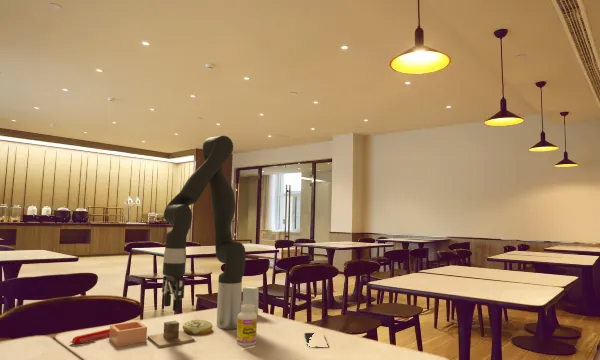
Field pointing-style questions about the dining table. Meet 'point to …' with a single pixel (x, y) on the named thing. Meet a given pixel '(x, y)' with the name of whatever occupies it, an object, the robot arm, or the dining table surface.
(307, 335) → the smartphone
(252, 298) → the skincare box
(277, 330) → the dining table surface
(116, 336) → the open box
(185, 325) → the decorated donut
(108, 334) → the candy bar
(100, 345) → the dining table surface
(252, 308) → the supplement bottle
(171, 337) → the lid
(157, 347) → the mat
